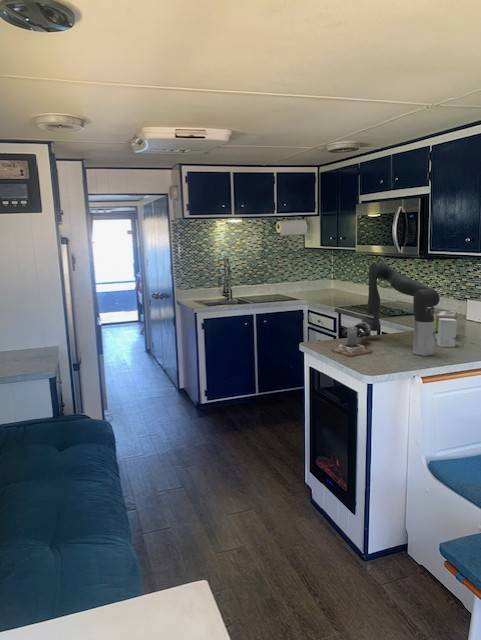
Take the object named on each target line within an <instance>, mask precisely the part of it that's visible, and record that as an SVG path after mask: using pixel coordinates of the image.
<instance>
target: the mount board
mask: <svg viewBox="0 0 481 640" xmlns="http://www.w3.org/2000/svg"><path fill="white" fill-rule="evenodd" d="M330 351H331V352H333V353H337V354H339V355H342V356H345V357H348V358H351V357H353V358H354V357H358V356H363V355H369V354H373V350H369V349H366V346H364V345H362V344H359V343H357V347H353V348H350V347H347V343H343V344H338V347H337V348H336V347H335V348H330Z"/></svg>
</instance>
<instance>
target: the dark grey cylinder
mask: <svg viewBox="0 0 481 640" xmlns="http://www.w3.org/2000/svg"><path fill="white" fill-rule="evenodd" d="M346 328H347V336H346V344H347V347H350V348H353V347H357V344H358V337H357V327H354V326H347V327H346Z"/></svg>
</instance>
